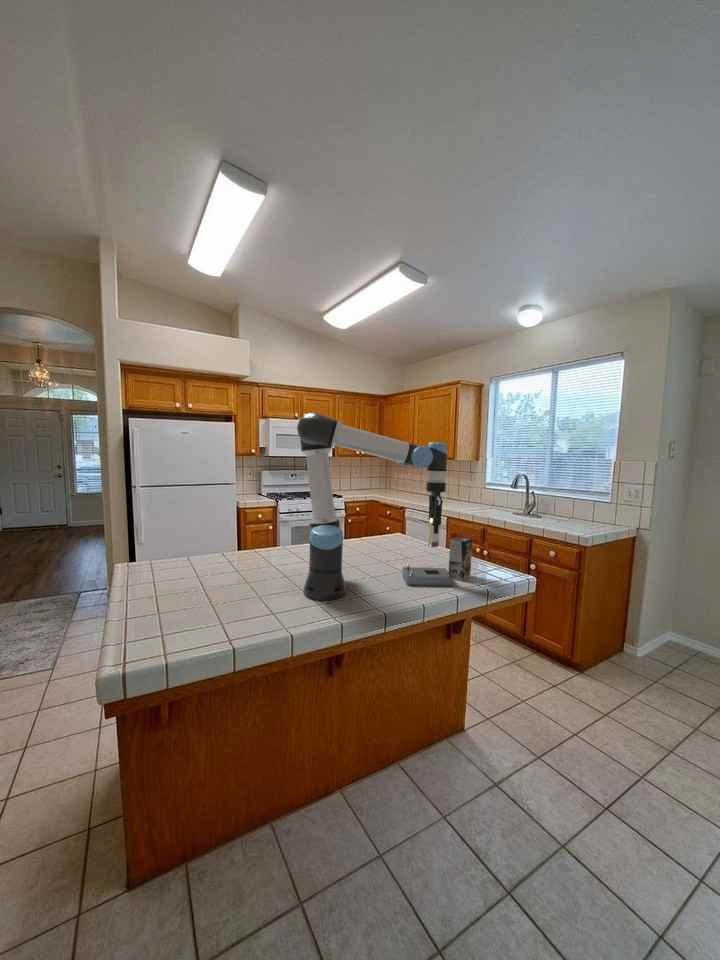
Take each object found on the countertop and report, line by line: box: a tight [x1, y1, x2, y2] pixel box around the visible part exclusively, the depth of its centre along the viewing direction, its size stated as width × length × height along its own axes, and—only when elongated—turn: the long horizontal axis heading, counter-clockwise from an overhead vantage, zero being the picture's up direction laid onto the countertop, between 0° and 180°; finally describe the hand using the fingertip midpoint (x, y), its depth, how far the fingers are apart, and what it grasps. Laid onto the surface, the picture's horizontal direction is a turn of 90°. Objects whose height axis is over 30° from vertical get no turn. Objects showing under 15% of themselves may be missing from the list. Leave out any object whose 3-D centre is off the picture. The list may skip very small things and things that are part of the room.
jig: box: [401, 563, 454, 587], centre depth 155 cm, size 18×12×5 cm, turn 92°
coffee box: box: [448, 536, 473, 582], centre depth 161 cm, size 9×6×16 cm
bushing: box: [428, 518, 441, 548], centre depth 154 cm, size 4×4×11 cm
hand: (433, 540), depth 154 cm, fingers closed on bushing, 4 cm apart
